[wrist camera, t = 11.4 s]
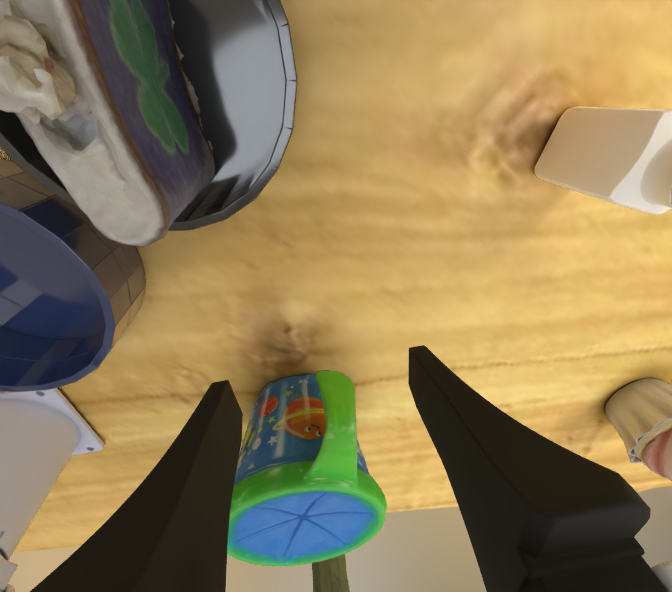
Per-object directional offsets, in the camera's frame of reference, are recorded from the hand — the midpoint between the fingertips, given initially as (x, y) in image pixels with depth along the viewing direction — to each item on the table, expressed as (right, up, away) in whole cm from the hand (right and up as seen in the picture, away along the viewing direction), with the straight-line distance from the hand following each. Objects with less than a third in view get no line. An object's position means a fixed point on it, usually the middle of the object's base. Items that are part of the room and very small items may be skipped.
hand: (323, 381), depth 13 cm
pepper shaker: (+15, +13, +7) cm, 21 cm away
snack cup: (-3, -6, +16) cm, 17 cm away
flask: (-8, +13, +3) cm, 16 cm away
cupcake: (+33, -8, +22) cm, 40 cm away
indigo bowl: (-17, +5, +6) cm, 19 cm away
